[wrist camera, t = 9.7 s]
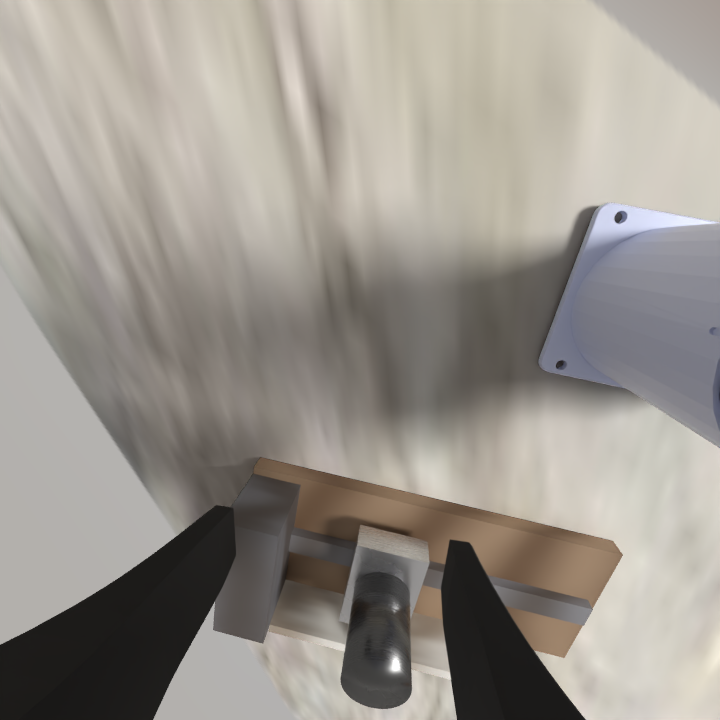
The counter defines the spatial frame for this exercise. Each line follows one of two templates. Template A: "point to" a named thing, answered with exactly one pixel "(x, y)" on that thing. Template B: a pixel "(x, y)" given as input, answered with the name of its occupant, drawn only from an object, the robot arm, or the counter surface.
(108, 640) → the robot arm
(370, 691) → the gauge slider
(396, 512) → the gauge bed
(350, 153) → the counter surface
